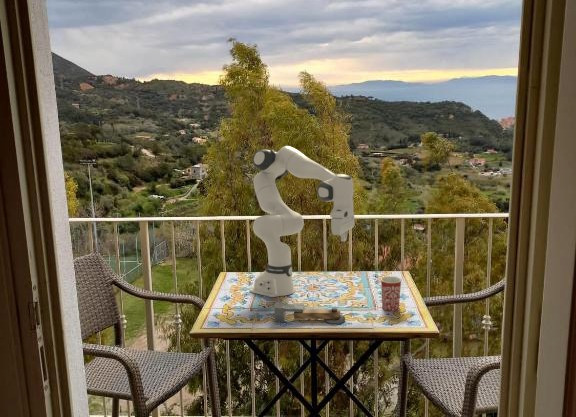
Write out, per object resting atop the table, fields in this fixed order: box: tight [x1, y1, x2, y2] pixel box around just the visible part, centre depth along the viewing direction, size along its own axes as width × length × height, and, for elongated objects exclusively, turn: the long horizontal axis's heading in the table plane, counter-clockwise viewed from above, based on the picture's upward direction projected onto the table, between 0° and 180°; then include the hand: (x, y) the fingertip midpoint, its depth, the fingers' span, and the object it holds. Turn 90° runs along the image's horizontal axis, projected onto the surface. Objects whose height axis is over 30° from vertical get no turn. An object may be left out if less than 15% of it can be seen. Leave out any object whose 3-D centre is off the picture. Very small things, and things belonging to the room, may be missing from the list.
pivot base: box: [323, 314, 346, 325], centre depth 224 cm, size 9×9×1 cm
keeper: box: [273, 301, 305, 323], centre depth 225 cm, size 12×7×6 cm, turn 84°
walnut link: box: [293, 307, 341, 320], centre depth 224 cm, size 20×5×4 cm, turn 86°
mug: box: [380, 276, 403, 312], centre depth 236 cm, size 13×9×14 cm
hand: (343, 240), depth 240 cm, fingers closed
